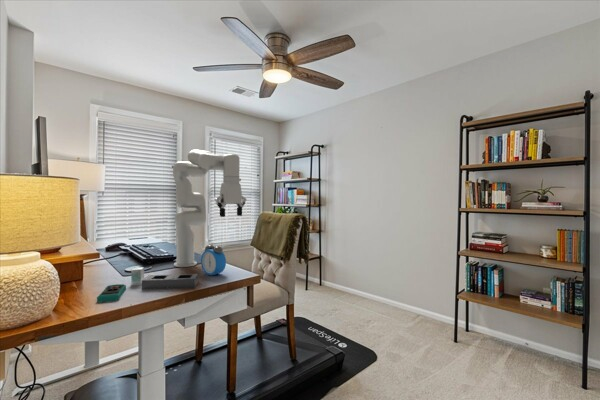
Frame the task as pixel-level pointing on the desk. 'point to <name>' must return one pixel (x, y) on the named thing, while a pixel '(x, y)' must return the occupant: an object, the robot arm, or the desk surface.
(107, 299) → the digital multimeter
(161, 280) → the rail
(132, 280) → the white green box
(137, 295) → the desk surface
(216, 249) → the alarm clock
